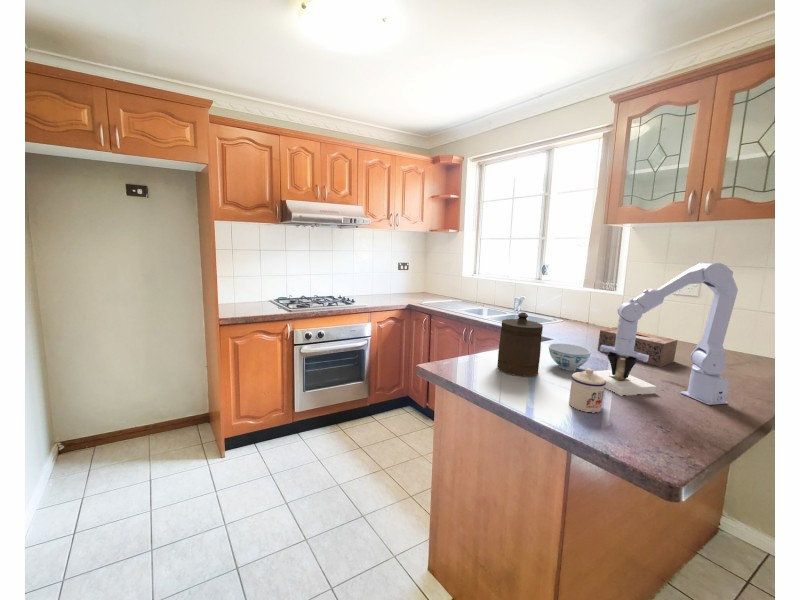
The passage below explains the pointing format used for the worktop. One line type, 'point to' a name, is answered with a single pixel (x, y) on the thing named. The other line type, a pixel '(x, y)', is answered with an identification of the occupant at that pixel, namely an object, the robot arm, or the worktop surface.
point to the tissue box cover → (644, 346)
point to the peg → (620, 369)
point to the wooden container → (520, 346)
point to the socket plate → (626, 384)
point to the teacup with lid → (587, 391)
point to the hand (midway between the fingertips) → (620, 376)
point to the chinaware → (569, 355)
